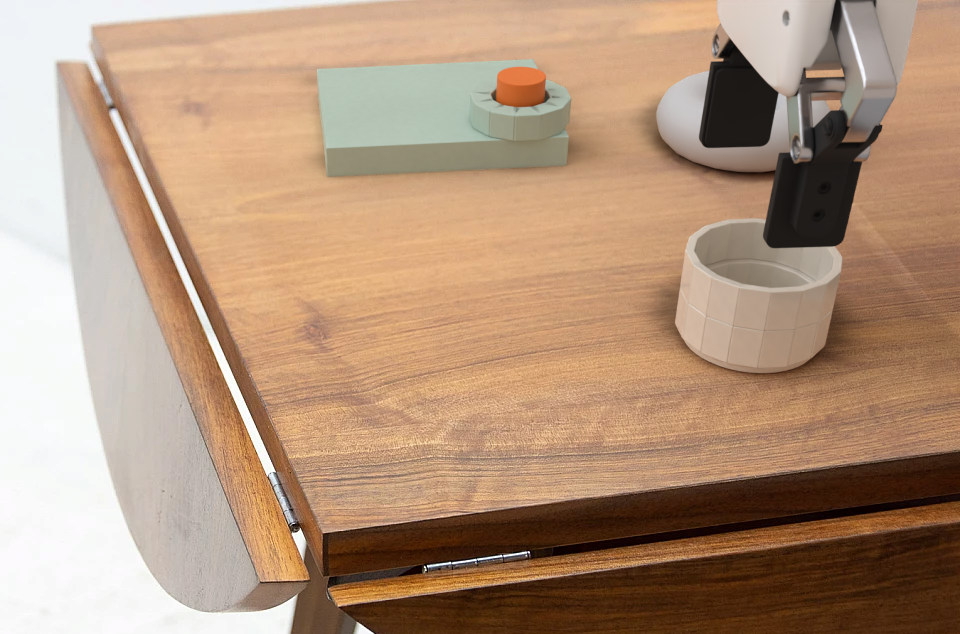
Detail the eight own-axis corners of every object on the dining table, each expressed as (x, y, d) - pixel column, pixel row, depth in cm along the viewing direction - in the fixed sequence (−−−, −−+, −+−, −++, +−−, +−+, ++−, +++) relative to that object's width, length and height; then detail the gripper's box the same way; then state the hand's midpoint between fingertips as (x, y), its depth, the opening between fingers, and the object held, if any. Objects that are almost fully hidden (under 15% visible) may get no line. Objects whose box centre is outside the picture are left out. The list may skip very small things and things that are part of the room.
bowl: (796, 296, 68) (812, 214, 66) (844, 373, 63) (865, 287, 60) (659, 303, 68) (670, 221, 66) (696, 381, 63) (709, 295, 60)
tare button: (539, 90, 82) (541, 65, 81) (548, 109, 80) (550, 83, 79) (492, 92, 82) (493, 67, 81) (499, 111, 80) (501, 86, 79)
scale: (537, 86, 91) (540, 34, 88) (573, 169, 81) (578, 112, 78) (317, 96, 90) (316, 44, 88) (327, 180, 80) (325, 124, 78)
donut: (618, 146, 83) (758, 198, 77) (623, 91, 81) (766, 140, 75) (722, 100, 88) (862, 146, 82) (729, 47, 86) (873, 90, 80)
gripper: (1061, -183, 44) (928, 287, 54) (862, -276, 58) (786, 111, 68) (827, -178, 44) (737, 293, 54) (685, -272, 58) (634, 115, 68)
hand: (765, 191), depth 61 cm, fingers open, 9 cm apart
